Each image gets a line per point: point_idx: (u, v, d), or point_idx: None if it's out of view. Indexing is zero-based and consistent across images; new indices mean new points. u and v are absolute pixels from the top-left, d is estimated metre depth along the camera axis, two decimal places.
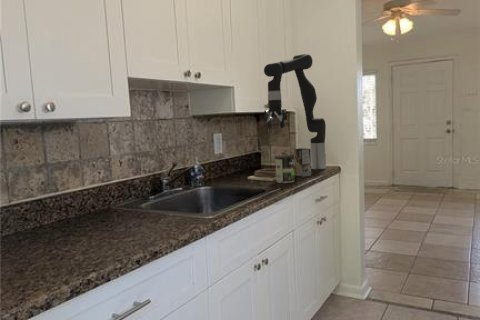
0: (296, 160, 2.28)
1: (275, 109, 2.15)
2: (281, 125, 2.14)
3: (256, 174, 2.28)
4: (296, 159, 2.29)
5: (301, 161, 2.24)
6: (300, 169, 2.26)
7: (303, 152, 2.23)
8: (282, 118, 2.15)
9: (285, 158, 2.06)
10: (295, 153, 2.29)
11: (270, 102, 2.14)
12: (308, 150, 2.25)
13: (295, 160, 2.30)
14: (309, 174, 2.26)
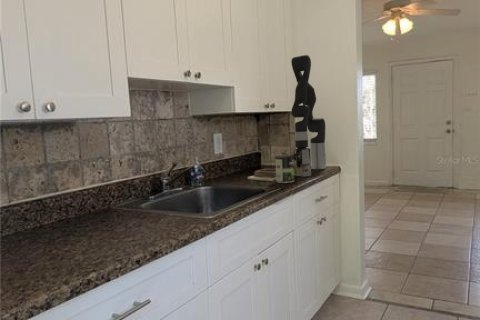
0: None
1: (304, 148, 2.28)
2: None
3: (256, 174, 2.28)
4: None
5: (301, 161, 2.24)
6: (300, 169, 2.26)
7: (303, 152, 2.23)
8: None
9: (285, 158, 2.06)
10: None
11: (306, 142, 2.25)
12: (308, 150, 2.25)
13: None
14: (309, 174, 2.26)
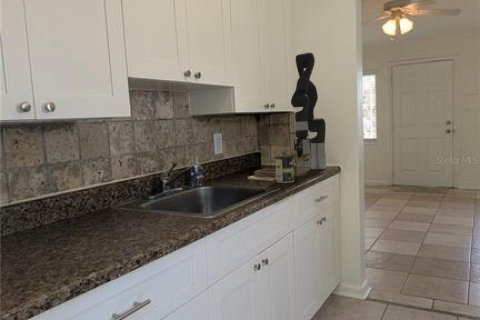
0: None
1: (304, 138, 2.27)
2: None
3: (256, 174, 2.28)
4: None
5: (302, 151, 2.23)
6: (301, 159, 2.25)
7: (304, 142, 2.23)
8: None
9: (285, 158, 2.06)
10: None
11: (306, 131, 2.24)
12: (308, 140, 2.24)
13: (295, 150, 2.29)
14: (310, 164, 2.26)
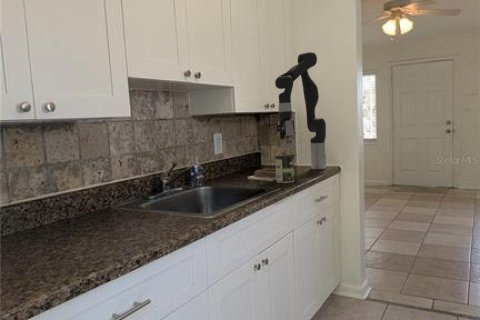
0: None
1: (287, 120, 2.25)
2: None
3: (256, 174, 2.28)
4: None
5: (285, 132, 2.21)
6: (283, 141, 2.23)
7: (287, 123, 2.21)
8: None
9: (285, 158, 2.06)
10: None
11: (290, 113, 2.22)
12: (292, 121, 2.22)
13: (278, 132, 2.27)
14: (293, 146, 2.23)
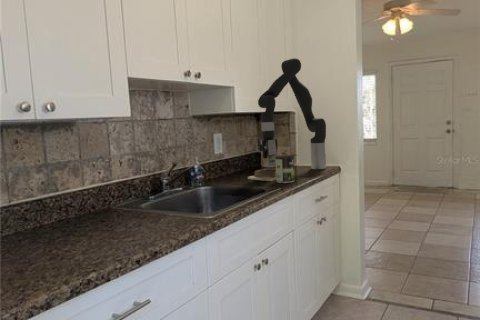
0: None
1: None
2: None
3: (256, 174, 2.28)
4: None
5: (267, 152, 2.22)
6: (266, 160, 2.24)
7: (269, 143, 2.22)
8: None
9: (285, 158, 2.06)
10: None
11: (272, 132, 2.23)
12: (274, 141, 2.23)
13: None
14: None
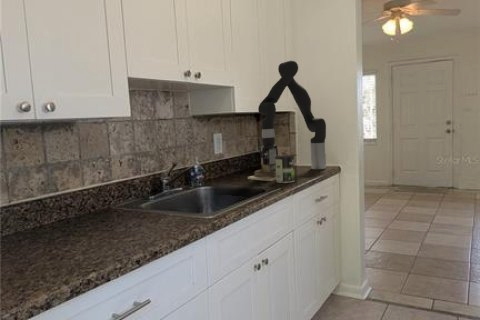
0: None
1: (270, 146, 2.26)
2: None
3: (256, 174, 2.28)
4: None
5: (268, 161, 2.23)
6: (267, 169, 2.25)
7: (270, 152, 2.22)
8: None
9: (285, 158, 2.06)
10: None
11: (273, 139, 2.24)
12: (275, 150, 2.24)
13: (262, 160, 2.28)
14: None
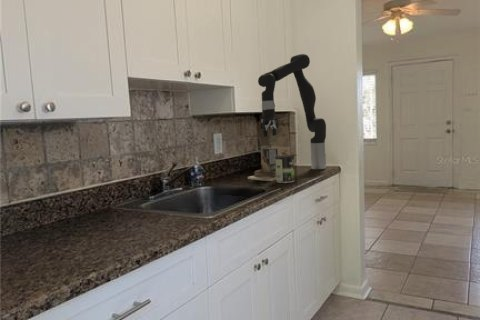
0: (263, 160, 2.27)
1: (271, 118, 2.26)
2: (275, 132, 2.30)
3: (256, 174, 2.28)
4: (263, 159, 2.27)
5: (268, 161, 2.23)
6: (267, 169, 2.25)
7: (270, 152, 2.22)
8: None
9: (285, 158, 2.06)
10: (262, 153, 2.28)
11: (273, 111, 2.24)
12: (275, 150, 2.24)
13: (262, 160, 2.28)
14: None
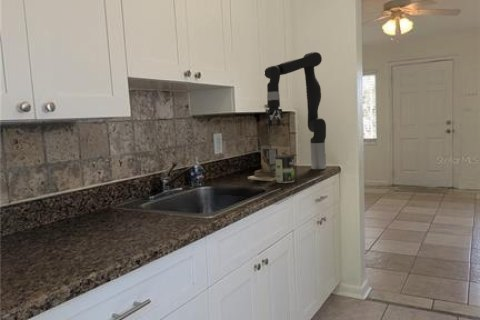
0: (263, 160, 2.27)
1: (276, 108, 2.35)
2: (280, 123, 2.39)
3: (256, 174, 2.28)
4: (263, 159, 2.27)
5: (268, 161, 2.23)
6: (267, 169, 2.25)
7: (270, 152, 2.22)
8: (277, 117, 2.40)
9: (285, 158, 2.06)
10: (262, 153, 2.28)
11: (278, 101, 2.33)
12: (275, 150, 2.24)
13: (262, 160, 2.28)
14: None
